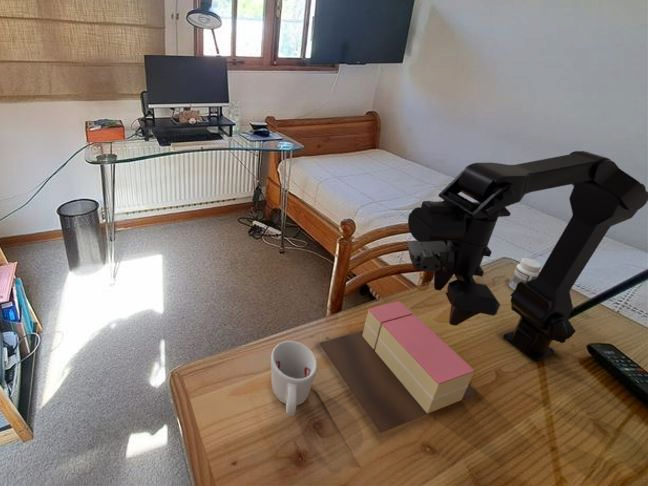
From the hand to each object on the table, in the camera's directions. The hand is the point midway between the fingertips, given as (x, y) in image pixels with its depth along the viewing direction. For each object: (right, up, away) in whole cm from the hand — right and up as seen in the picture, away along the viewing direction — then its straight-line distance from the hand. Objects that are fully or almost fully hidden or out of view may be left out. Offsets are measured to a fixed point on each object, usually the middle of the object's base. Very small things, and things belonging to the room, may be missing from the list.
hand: (444, 305), depth 64 cm
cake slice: (-8, -10, +8) cm, 15 cm away
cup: (-30, -15, -4) cm, 34 cm away
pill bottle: (+36, -6, +25) cm, 45 cm away
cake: (-5, -13, 0) cm, 14 cm away
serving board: (-9, -13, +2) cm, 16 cm away
